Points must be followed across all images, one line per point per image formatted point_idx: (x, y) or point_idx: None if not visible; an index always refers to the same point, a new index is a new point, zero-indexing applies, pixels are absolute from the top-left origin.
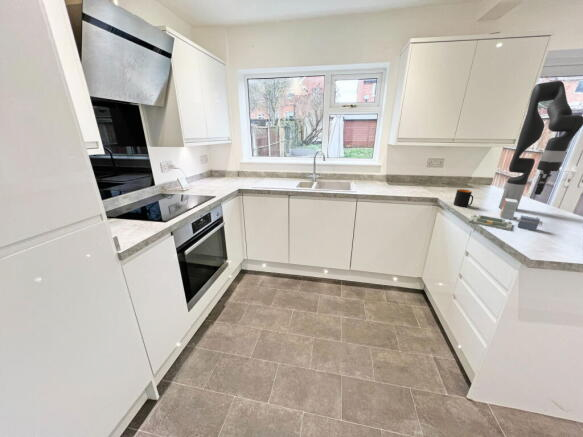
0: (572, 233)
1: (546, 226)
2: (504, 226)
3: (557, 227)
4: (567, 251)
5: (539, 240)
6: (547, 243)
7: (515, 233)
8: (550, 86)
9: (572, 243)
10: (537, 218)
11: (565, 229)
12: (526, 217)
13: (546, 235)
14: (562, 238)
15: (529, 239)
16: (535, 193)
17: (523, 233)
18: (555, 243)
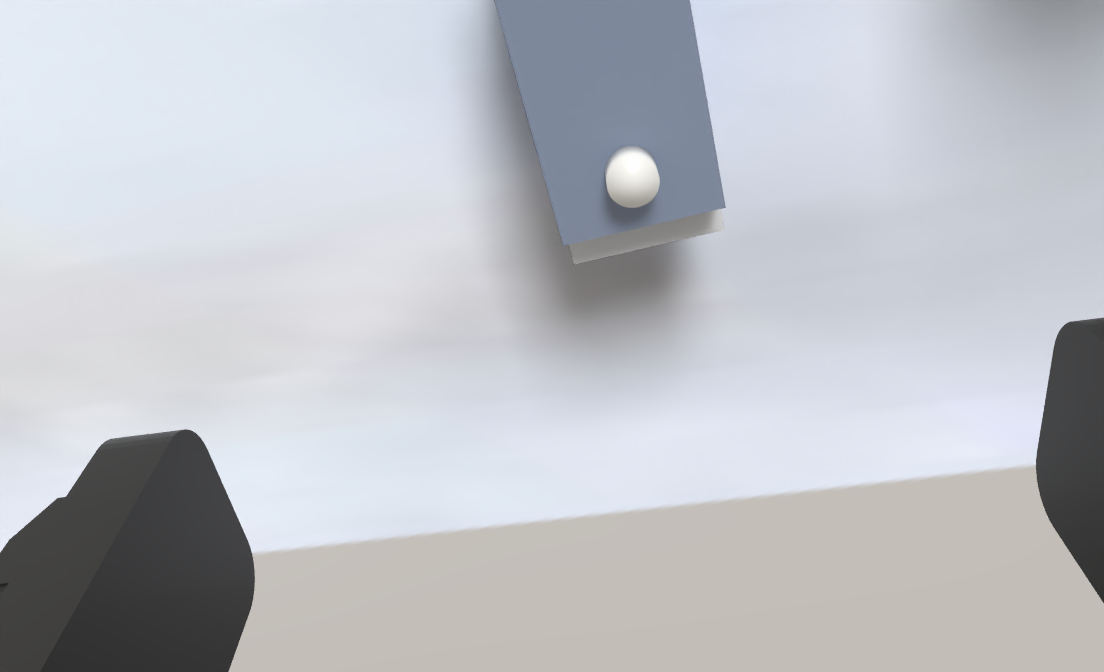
0: (895, 445)
1: (1016, 193)
2: None
3: (1084, 295)
4: None
5: (135, 292)
6: (120, 368)
7: (84, 5)
8: None
9: (427, 503)
10: (630, 200)
11: (1048, 371)
12: (562, 31)
13: (473, 294)
14: (530, 420)
15: (27, 211)
16: (113, 472)
17: (228, 83)
18: (225, 414)
